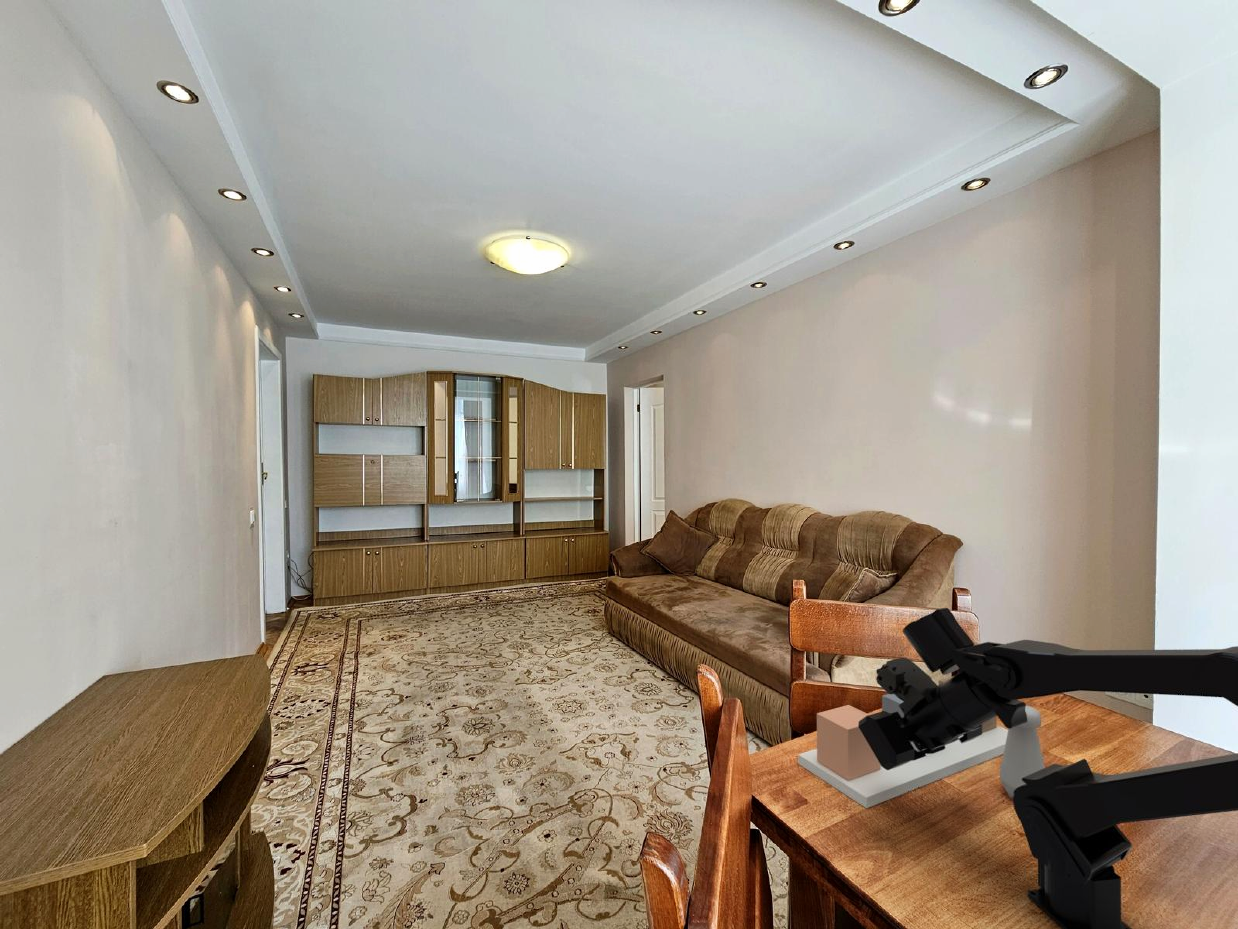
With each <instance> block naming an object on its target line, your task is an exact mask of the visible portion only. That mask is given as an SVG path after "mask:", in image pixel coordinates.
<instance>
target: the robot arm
mask: <svg viewBox="0 0 1238 929" xmlns="http://www.w3.org/2000/svg"><path fill="white" fill-rule="evenodd" d="M901 632H902V633H903V634H904V636H905V637H906V639H907V640H908V642H909V643H910V644H911V646H912V648H913V650H915V651H916V653H917V654H918V656H919V657H920V658H921V660H922V662H923V663H924V664H925V665H926V667H927V668H928V669H929V671H930V672H931V673H935V672H938V671H940V672H941V675H944V676H945V675H948V674H952V673H954V672H955V671H958V670H960V672H959V673H956V674H955V675H953V676H954V677H952V676H951V677H952V678H951V679H949V680H948V681H946V682H945V683H943V684H940V685H939V686H938V683H936V682H935V681H934V680H933V679H932V677H931V676H930V675H929V674H928V673H926V672H925V671H924V670H923V669H922V668H920V666H918V665H917V664H916V663H915V662H913V661H912V659H911V660H910V659H909V658H907V657H898V658H895V659H891V660H887V661H886V662H885V664H882V666H881V667H880V668H877V669H876V672H875V673H876V675H877V676H876V677H875V680H876V683H877V684H878V685H879V686H880V687H881V688H882V689H883V690H884V691H885V692H886V694H895V695H896V696H897V697H898V698H899V699H900V700H902V701H904V702H903V703H901V704H900V705H898V706H899V707H900V709H901V710H902V712H903V713H904V717H903V718H902V717H901V716H900V714H899V713H898V711H897V712H894V713H891V714H890V713H888V712H886V711H882V710H881V711H878V712H875V713H871V714H869V715H868V716H866V717H864V718H863V719H862V720H860V721H859V724H858V727H859V729H860V730H861V732H862V734H863V736H864V737H865V739H866V741H867V742H868V744H869V746H870V747H871V749H872V751H873V753H874V754H875V756H876V758H877V759H878V761H879V763H880V765H881V766H882V767H883V768H884V769H886V770H890V769H893V768H896V767H899V766H901V765H903V764H906V763H908V762H910V761H914V760H917V759H920V758H922V757H925V756H926V755H925V754H933V753H936V752H939V751H942V750H944V749H945V745H947V744H950V743H953V742H955V741H957V740H958V739H959V741H960V742H961V744H962V743H964V742H967V741H970V740H973V739H975V738H976V737H978V736H980V735H982V724H983V723H985V722H986V721H988V720H990V719H992V718H994V717H995V716H996V717H998V719H999V720H1000V722H1001V723H1002V724H1003V726H1004V727H1005V729H1007V730H1008V729H1011V728H1014V727H1016V726H1019V725H1022V724H1025V723H1027V714H1026V711H1025V707H1026V705H1027V704H1026V702H1024V701H1021V700H1023V699H1033V698H1041V697H1042V698H1043V697H1046V696H1053V695H1058V694H1064V693H1070V692H1071V693H1072V692H1082V691H1083V692H1099V693H1101V692H1102V693H1123V694H1140V695H1141V694H1144V695H1145V694H1146V695H1164V696H1165V695H1166V696H1168V695H1169V696H1183V697H1184V696H1186V697H1187V696H1188V697H1189V696H1190V697H1204V698H1205V697H1208V698H1210V697H1211V698H1222V699H1225V700H1226V701H1228V702H1230V703H1232V704H1233V705H1234V706H1236V707H1238V645H1237V646H1235V645H1234V646H1231V647H1230V646H1229V647H1226V648H1221V649H1220V648H1219V649H1217V648H1215V649H1214V648H1213V649H1211V648H1210V649H1208V648H1205V649H1202V648H1201V649H1196V648H1195V649H1109V650H1108V649H1100V650H1099V649H1093V650H1092V649H1089V650H1088V649H1078V648H1073V647H1072V648H1071V647H1069V646H1066V645H1062V644H1058V643H1053V642H1045V641H1037V640H1034V639H1033V640H1031V639H1021V640H1016V641H1013V642H1007V643H998V642H991V641H986V642H981V643H978V644H975V642H974V641H973V640H972V639H971V637H970V636H969V635H968V634H967V632H966V631H965V630H964V629H963V627H962V626H961V625H960V623H959V622H958V621H957V619H956V617H955V616H954V614H953V613H952V612H951V610H950V609H949V608H948V607H941V608H936V609H935V610H933V611H932V612H931V613H928V614H926V615H925V616H922V617H921V618H920V617H919V618H918V619H917V620H914V621H911V622H909V623H908V624H906V625H905V626H904V628H903V629H902V631H901ZM962 735H964V736H962ZM960 736H962V737H960ZM958 737H960V738H958ZM1022 781H1023V782H1024V783H1026V784H1024V785H1022V786H1020V787H1018V788H1016V789H1015V790H1014V792H1013V794H1014V796H1013V799H1012V803H1013V810H1014V811H1015V813H1016V814H1015V815H1016V816H1017V818H1018V820H1019V821H1020V823H1021V826H1022V829H1023V832H1024V835H1025V839H1026V841H1027V844H1028V846H1029V847H1028V848H1029V849H1030V853H1031V856H1032V857H1033V858H1034V859H1035V860H1037V885H1038V887H1039V888H1037V889H1028V890H1027V897H1028V898H1029V899H1030V900H1031V901H1032V902H1034V903H1035V904H1036V905H1037V906H1038V908H1040V909H1041V910H1042V911H1043V912H1044V913H1045V914H1047V916H1049V917H1050V919H1051V920H1053V921H1054V922H1055V923H1056V924H1058V925H1059V927H1061V928H1062V929H1132V928H1131V927H1130V926H1129V925H1128V924H1127V923H1125V922H1124V921H1123V920H1122V877H1121V876H1120V875H1118V874H1117V873H1116V872H1115V868H1114V866H1113V865H1115V864H1116V863H1118V862H1119V861H1124V860H1125V859H1126V857H1127V856H1128V855H1129V853H1130V851H1131V849H1132V847H1133V845H1132V843H1131V841H1130V839H1129V838H1128V837H1127V836H1126V835H1125V834H1124V832H1123V831H1122V830H1121V828H1119V826H1118V825H1120V824H1126V823H1127V824H1128V823H1136V822H1145V821H1153V820H1164V819H1173V818H1181V817H1182V818H1183V817H1191V816H1199V815H1210V814H1219V813H1220V814H1221V813H1228V812H1238V753H1231V754H1224V755H1220V756H1214V757H1208V758H1203V759H1196V760H1191V761H1184V762H1179V763H1174V764H1168V765H1162V766H1156V767H1151V768H1144V769H1140V770H1133V771H1127V772H1122V773H1116V774H1103V773H1098V772H1093V771H1092V769H1091V767H1090V765H1089V763H1088V761H1087V759H1086V758H1082V759H1081V760H1079V761H1076V762H1073V763H1071V764H1065V765H1064V764H1063V765H1062V764H1057V763H1053V764H1051V765H1049V766H1045V768H1044V769H1041V770H1039V771H1037V772H1035V773H1032V774H1030V775H1028V776H1026V777H1023V778H1022Z"/></svg>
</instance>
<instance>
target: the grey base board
mask: <svg viewBox="0 0 1238 929" xmlns="http://www.w3.org/2000/svg"><path fill="white" fill-rule="evenodd" d="M1007 734H1008V728H1004V727H1002V726H999V725H997V727H996V728H994V729H991V730H988V731H985V732H982V735H980V736H978V737H976V738H975V739H973V740H970V741H967V742H964V743H962V744H961V742H960V741H959V739H958V740H957V741H955V742H953V743H950V744H947V745H945V749H944V750H942V751H939V752H936V753H933V754H925V755H926V756H925V757H922V758H920V759H917V760H914V761H910V762H908V763H906V764H903V765H901V766H899V767H896V768H893V769H890V770H886V769H884V768H883V767H882V766H881V769H879V770H876V771H874V772H871V773H868V774H865V775H862V776H860V777H857V778H854V779H851V780H846V779H845V778H843V777H842V776H840V775H838V774H837V773H835V772H834V771H832V770H830V769H829V768H827V767H826V766H824V765H822V764H821V763H819V762H818V761H817V748H813V749H812V750H808V751H806V752H801V753H799V754H798V756H797V758H798V759H797V760H798V764H799V765H800V766H801V767H803V768H804V769H806V770H807V771H809V772H811V773H812V774H813V775H815V776H816V777H818V778H819V779H821V780H823V781H824V782H825V783H827V784H828V785H830V786H832V787H833V788H834V789H837V790H838V791H839V792H841V793H842V794H844V795H845V796H846V797H848V798H850V799H851V800H853V801H854V802H856V803H857V804H859V805H861V806H862V807H863V808H865V809H868V808H871V807H873V806H876V805H879V804H882V803H883V802H886V801H888V800H891V799H894V798H897V797H899V796H902V795H904V794H907V793H909V792H911V791H913V790H916V789H918V787H919V788H922V787H924V786H926V785H929V784H931V783H934V782H936V781H939V780H942V779H944V778H946V777H949V776H952V775H955V774H956V773H957V774H958V773H959V772H961V771H964V770H966V769H969V768H971V767H974V766H976V765H980V764H982V763H984V762H987V761H989V760H991V759H994V758H997V757H999V756H1001V755H1002V756H1003V754H1004V749H1005V744H1006V739H1007ZM962 736H964V735H962ZM962 736H960V737H962ZM960 737H958V738H960ZM908 791H909V792H908Z"/></svg>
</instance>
